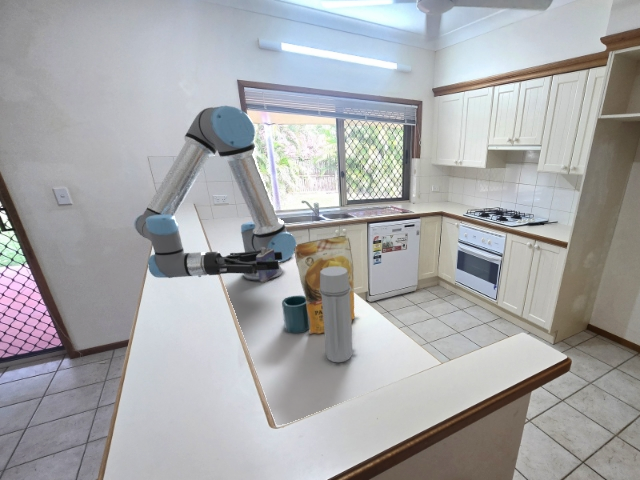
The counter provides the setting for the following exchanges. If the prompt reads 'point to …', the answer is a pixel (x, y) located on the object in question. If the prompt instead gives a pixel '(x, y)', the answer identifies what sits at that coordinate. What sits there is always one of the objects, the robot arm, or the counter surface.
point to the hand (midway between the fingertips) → (280, 260)
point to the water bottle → (336, 313)
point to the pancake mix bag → (310, 264)
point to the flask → (266, 256)
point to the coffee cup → (295, 314)
